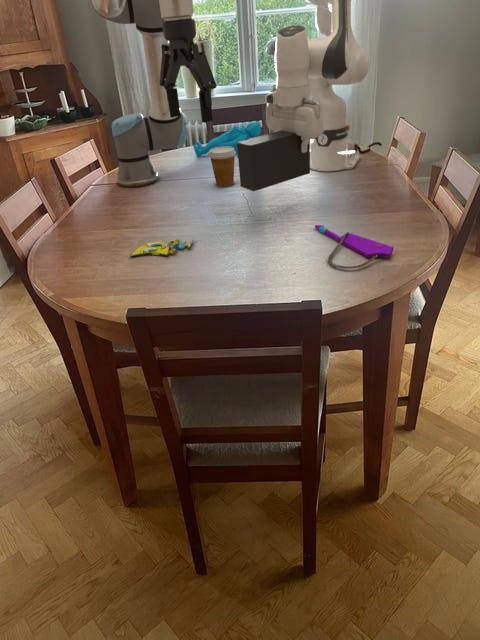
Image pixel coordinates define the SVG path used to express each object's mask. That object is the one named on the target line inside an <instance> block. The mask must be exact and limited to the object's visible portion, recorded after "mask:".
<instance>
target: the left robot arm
mask: <svg viewBox="0 0 480 640" xmlns="http://www.w3.org/2000/svg"><path fill="white" fill-rule="evenodd" d="M90 2H91V5H92V7H93V9H94V11H95V12H96V13H97V14H98V15H99V16H100V17H101V18H103V19H104V20H107V21H109V22H112V23H115V24H119V25H132V24H133V25H134V24H135V29H136V31H138V32H139V33H140V34H141V37H142V45H143V52H144V59H145V66H146V74H147V80H148V81H147V82H148V88H149V89H148V90H149V96H150V103H151V107H150V108H149V109H148V116H146V117H145V116H143V114H142V113H138V112H137V113H130V114H127V115H124V116H120V117H119V118H116V119H114V120H113V121H112V122H111V131H112V137H113V141H114V145H115V151H116V155H117V160H118V167H117V168H118V170H117V179H116V180H117V183H118V186H120V187H123V188H124V187H125V188H136V187H137V188H138V187H145V186H147V185H148V186H149V185H151V184H154V183H156V182H157V181H158V180H159V176H158V172H157V169H156V167H155V166H154V163H153V161H152V159H151V156H150V152H152V151H159V150H167V149H176V148H180V147H183V146H184V145H185V144H186V143H187V137H188V127H187V117H186V114H185V113H184V112H182V110H181V108H180V107H181V106H180V99H179V93H178V88H177V85H176V83H177V79H178V76H179V73H180V70H181V67H185V69H188V70H189V72H190V74H191V76H192V78H193V80H194V81H195V83H196V85H197V86H198V88H199V90H198V99H199V108H200V118H201V123H205V124H206V123H208V122H212V121H213V119H214V118H213V110H212V107H213V106H212V105H213V102H212V100H213V99H212V90H214V89H217V82H216V80H215V77H214V74H213V71H212V69H211V66H210V64H209V61H208V57H207V55H206V51H205V45H204V43H203V42H195V40H194V39H195V38H196V37H197V35H198V34H197V25H196V20H195V19H194V18H193V17H194V16H195V8H194V0H90Z"/></svg>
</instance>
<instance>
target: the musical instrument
mask: <svg viewBox="0 0 480 640" xmlns="http://www.w3.org/2000/svg"><path fill="white" fill-rule="evenodd" d="M314 229H315V230H318V231H319V232H320V233H322V234H324V235H326V236H328V237H330V238H332V239H333V240H335V241H337V242H338V243H337V244H336V246H335V247H334V249H333V250H332V251H331V253H330V254H329V256H328V259H327V262H328V264H329V266H331V267H333V268H340V269H358V268H362V267H364V266H366V265H368V264H370V263H371V262H373V261H374V260H375V259H376V258H378V257H381V258H391V256H392V254H393V251H394V246H393V245H392V246H391V245H389V244H386V243H383V242H380V241H376V240H372V239H369V238H367V237H363V236H361V235H358V234H354V233H351V232H348V231H347V232H346V233H344V234H342V235H338V234H336V233H335V232H333V231H331V230H330V229H328V228H326V227H325V226H324V225H323V224H322V225H321V224H316V225H314ZM342 244H343V245H344V246H345V247H348V248H350V249H352V250H353V251H355V252H357V253H359V254H360V255H362V256H364V257H366V258H370V259H367V260H366V261H364V262H363V263H361V264H358V265H353V266H350V265H349V266H348V265H347V266H346V265H345V266H344V265H340V264H338V265H337V264H334V263H333V262H332V258H333V256H334V255H335V253H336V252H337V250H338V249H339V248H340V246H341V245H342Z"/></svg>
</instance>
